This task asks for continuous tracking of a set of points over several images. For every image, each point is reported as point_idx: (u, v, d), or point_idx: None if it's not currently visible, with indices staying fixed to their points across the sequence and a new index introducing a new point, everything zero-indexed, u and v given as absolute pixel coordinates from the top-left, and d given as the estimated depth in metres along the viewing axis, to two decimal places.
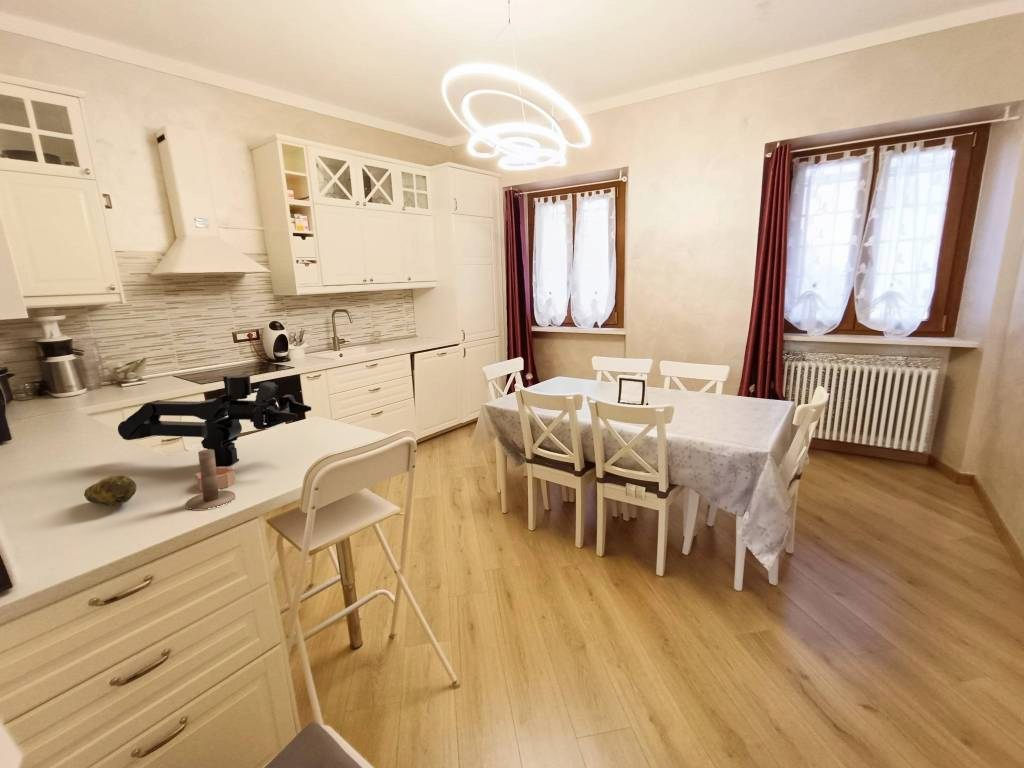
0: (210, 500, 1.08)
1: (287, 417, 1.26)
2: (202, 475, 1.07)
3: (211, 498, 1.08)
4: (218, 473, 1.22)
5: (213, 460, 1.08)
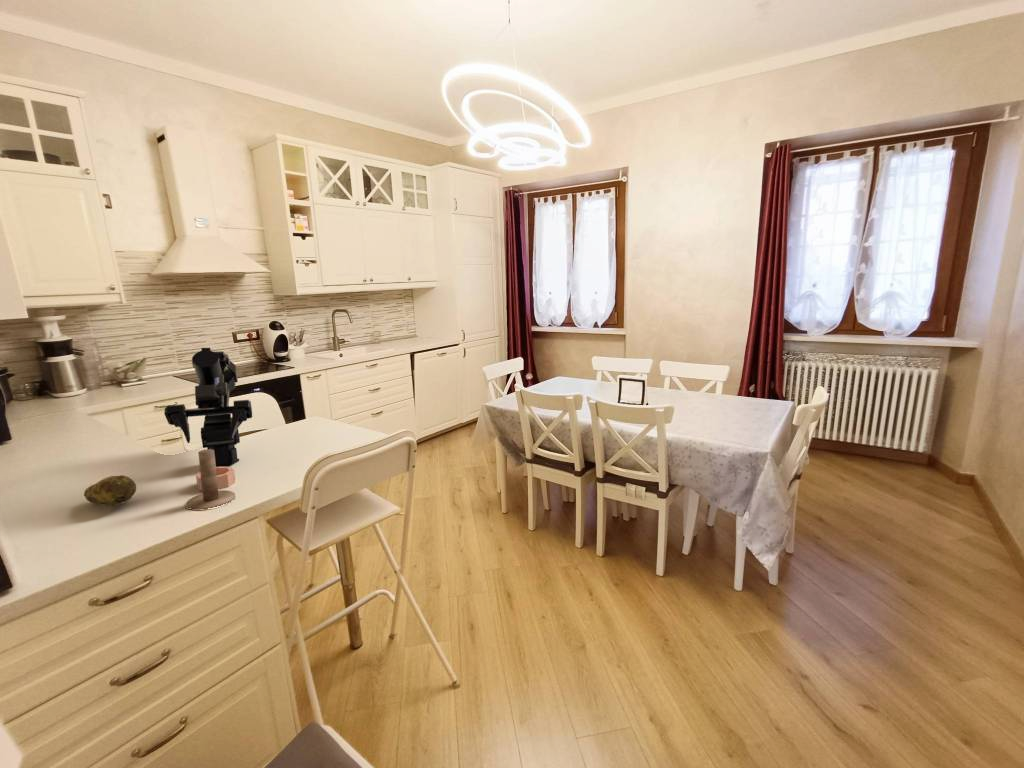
0: (210, 500, 1.08)
1: None
2: (202, 475, 1.07)
3: (211, 498, 1.08)
4: (218, 473, 1.22)
5: (213, 460, 1.08)
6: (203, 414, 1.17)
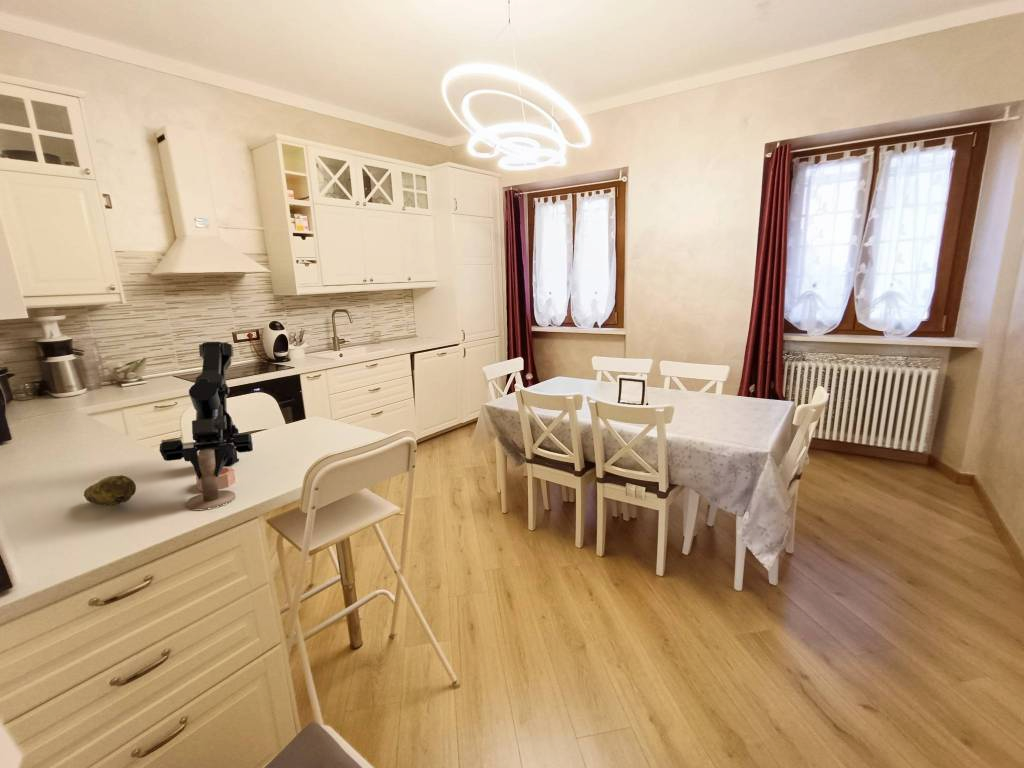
0: (210, 500, 1.08)
1: (195, 470, 1.07)
2: (202, 475, 1.07)
3: (211, 498, 1.08)
4: None
5: (213, 460, 1.08)
6: (201, 449, 1.10)
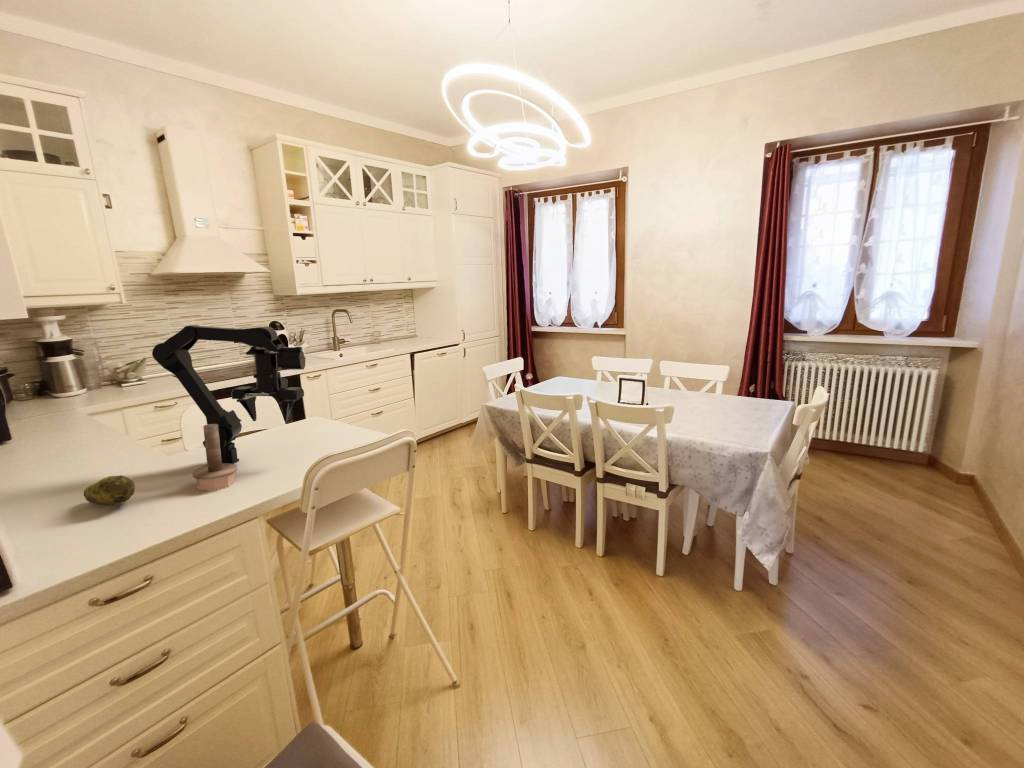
0: (214, 471, 1.17)
1: (288, 414, 1.34)
2: (207, 447, 1.16)
3: (215, 469, 1.17)
4: None
5: (217, 433, 1.17)
6: None
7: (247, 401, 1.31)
